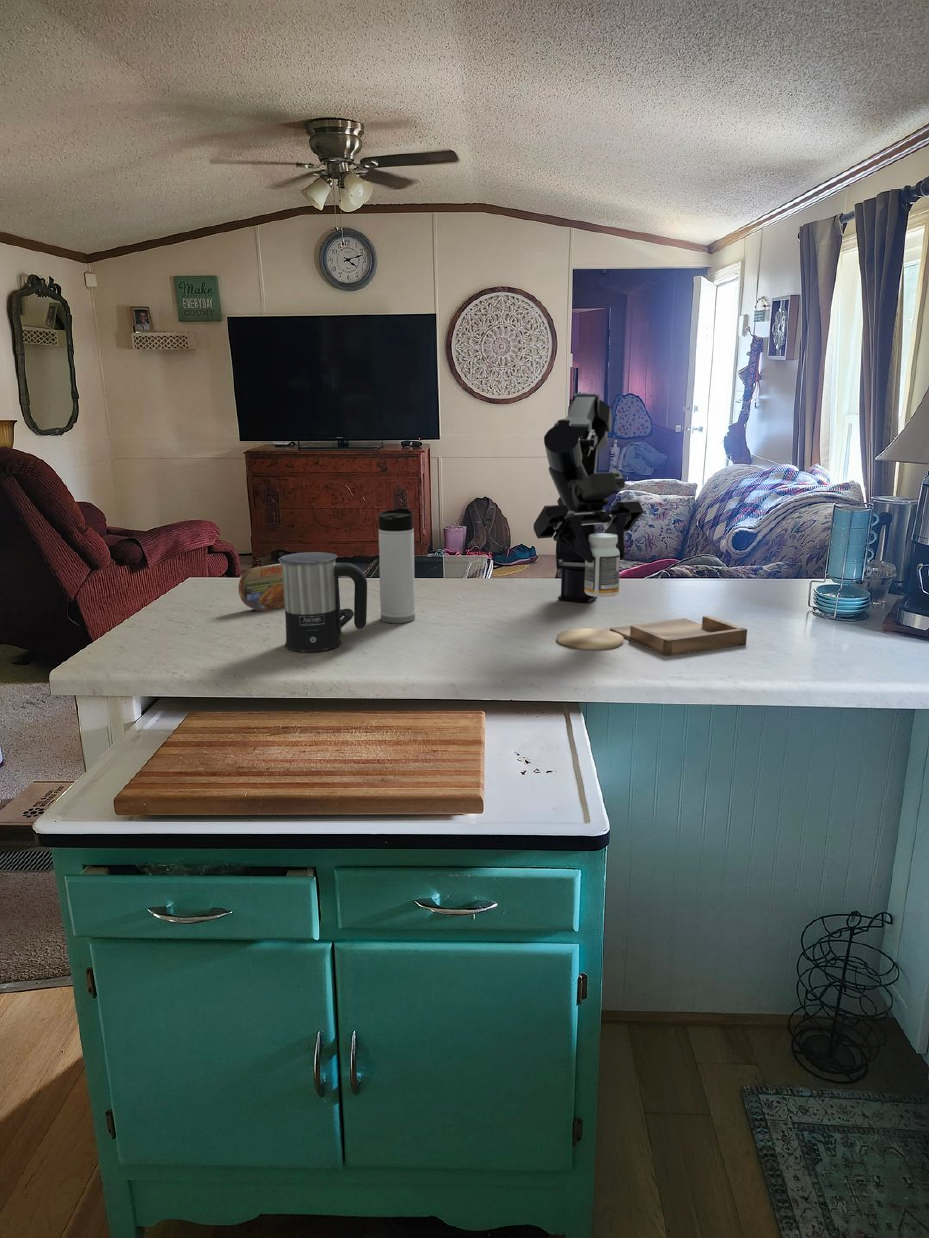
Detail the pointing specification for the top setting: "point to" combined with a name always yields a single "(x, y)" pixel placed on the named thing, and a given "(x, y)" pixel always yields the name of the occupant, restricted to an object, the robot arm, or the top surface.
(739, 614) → the top surface
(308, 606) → the milk frother
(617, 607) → the top surface
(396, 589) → the travel mug
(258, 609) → the tin
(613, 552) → the pill bottle
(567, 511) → the robot arm
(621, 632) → the tray
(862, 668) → the top surface
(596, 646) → the cork mat
